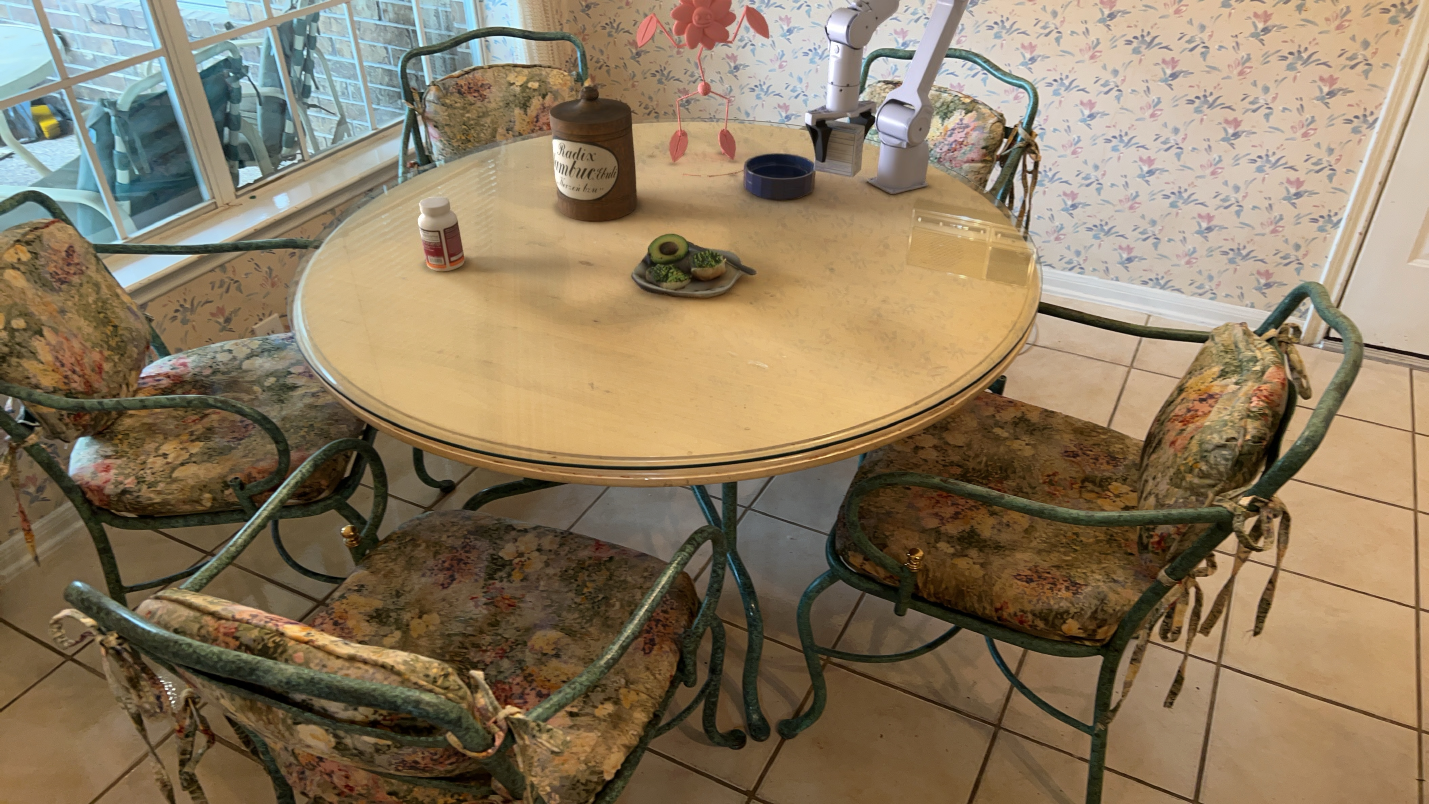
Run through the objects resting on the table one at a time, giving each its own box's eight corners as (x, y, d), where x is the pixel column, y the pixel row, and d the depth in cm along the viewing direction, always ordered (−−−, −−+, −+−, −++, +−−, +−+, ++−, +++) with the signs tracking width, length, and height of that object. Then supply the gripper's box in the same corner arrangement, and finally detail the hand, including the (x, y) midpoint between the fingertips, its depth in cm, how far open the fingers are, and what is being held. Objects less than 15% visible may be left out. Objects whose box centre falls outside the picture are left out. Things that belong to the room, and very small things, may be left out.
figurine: (641, 153, 194) (634, -24, 174) (760, 151, 195) (767, -25, 175) (641, 180, 181) (634, -8, 161) (769, 177, 183) (777, -9, 163)
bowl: (788, 170, 186) (789, 148, 184) (828, 193, 176) (830, 171, 174) (730, 182, 180) (730, 160, 178) (768, 207, 171) (769, 184, 168)
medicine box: (861, 171, 168) (866, 125, 163) (852, 179, 165) (857, 132, 160) (822, 163, 171) (825, 118, 166) (812, 171, 168) (816, 125, 163)
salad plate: (768, 261, 152) (769, 235, 149) (739, 310, 138) (740, 283, 135) (660, 245, 157) (660, 220, 154) (621, 292, 143) (620, 265, 140)
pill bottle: (460, 253, 153) (450, 191, 147) (469, 268, 149) (458, 205, 143) (423, 260, 151) (411, 197, 145) (430, 275, 147) (418, 212, 140)
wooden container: (543, 214, 167) (530, 94, 154) (582, 186, 178) (573, 72, 165) (614, 227, 162) (607, 104, 150) (650, 198, 174) (646, 81, 161)
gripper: (824, 94, 153) (818, 171, 161) (890, 82, 159) (881, 157, 167) (800, 83, 158) (795, 158, 166) (865, 72, 164) (858, 145, 172)
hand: (837, 157), depth 167 cm, fingers closed on medicine box, 7 cm apart
